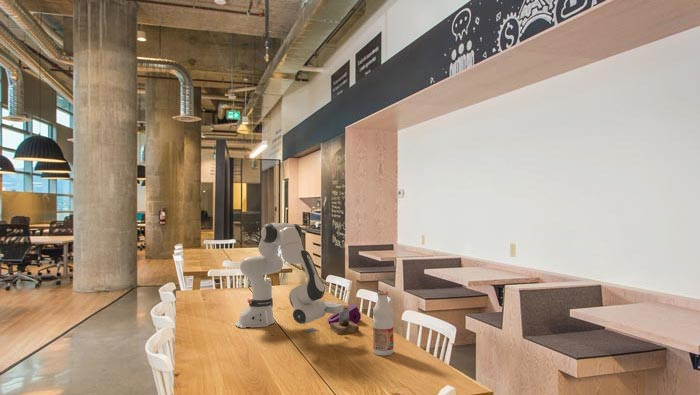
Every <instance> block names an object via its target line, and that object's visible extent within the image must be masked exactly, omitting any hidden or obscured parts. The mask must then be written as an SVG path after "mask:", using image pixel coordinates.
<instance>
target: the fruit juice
mask: <svg viewBox="0 0 700 395" xmlns="http://www.w3.org/2000/svg"><path fill="white" fill-rule="evenodd" d="M376 295H377V301H376V303H375V305H374V307H373V308H372V314H373V320H372V351H373V354H375V355H377V356H381V357H383V356H391V355H392V354H394V320H393V318H392V317H393V314H394V313H393V312H394V309H393V307H392V306H391V305H390V303H389V300H388V295H389V292H388V291H386V290H380V291H379V290H378V291H377V294H376Z"/></svg>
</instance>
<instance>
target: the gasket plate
mask: <svg viewBox="0 0 700 395" xmlns="http://www.w3.org/2000/svg"><path fill="white" fill-rule="evenodd" d="M301 331H302V332H305V333H306V334H307V333H308V334H311V333H316V332H319V331H320V330H318V329H316V328H314V327H310V328H307V329H302V330H301Z"/></svg>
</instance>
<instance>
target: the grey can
mask: <svg viewBox="0 0 700 395" xmlns="http://www.w3.org/2000/svg"><path fill="white" fill-rule="evenodd" d="M339 325H340V326H348V325H349V308H348V305H346V304H345V305H344V304H343V312H340V313H339Z"/></svg>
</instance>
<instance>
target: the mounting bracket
mask: <svg viewBox="0 0 700 395" xmlns="http://www.w3.org/2000/svg"><path fill="white" fill-rule="evenodd" d="M347 306H348V308H349V321H351V322H353V323H355V324H358V323H359V322H360V321H361V318H362V316H361V312H360V311H359V308H358V306H357V305H356V304H354V303H350V304H348V305H347ZM327 322H328V324H329V325H330V323H336V322H339V313H337V314H331V315H330V316H329V317H327Z"/></svg>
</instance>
